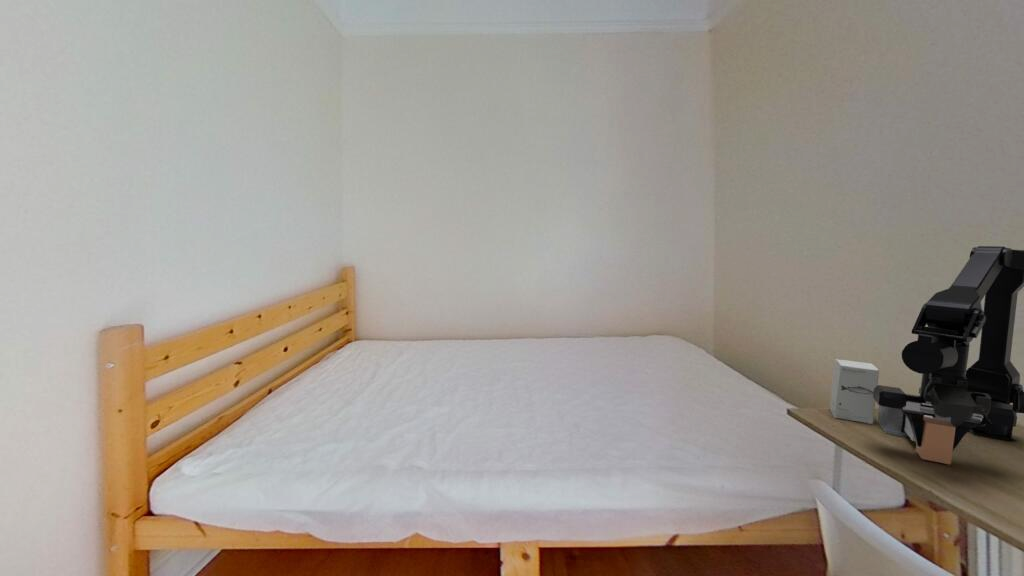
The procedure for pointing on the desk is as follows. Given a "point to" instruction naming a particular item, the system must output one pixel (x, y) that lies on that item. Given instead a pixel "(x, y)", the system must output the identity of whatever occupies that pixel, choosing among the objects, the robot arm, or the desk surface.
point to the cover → (934, 439)
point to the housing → (900, 419)
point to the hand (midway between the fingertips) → (933, 448)
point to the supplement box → (853, 390)
